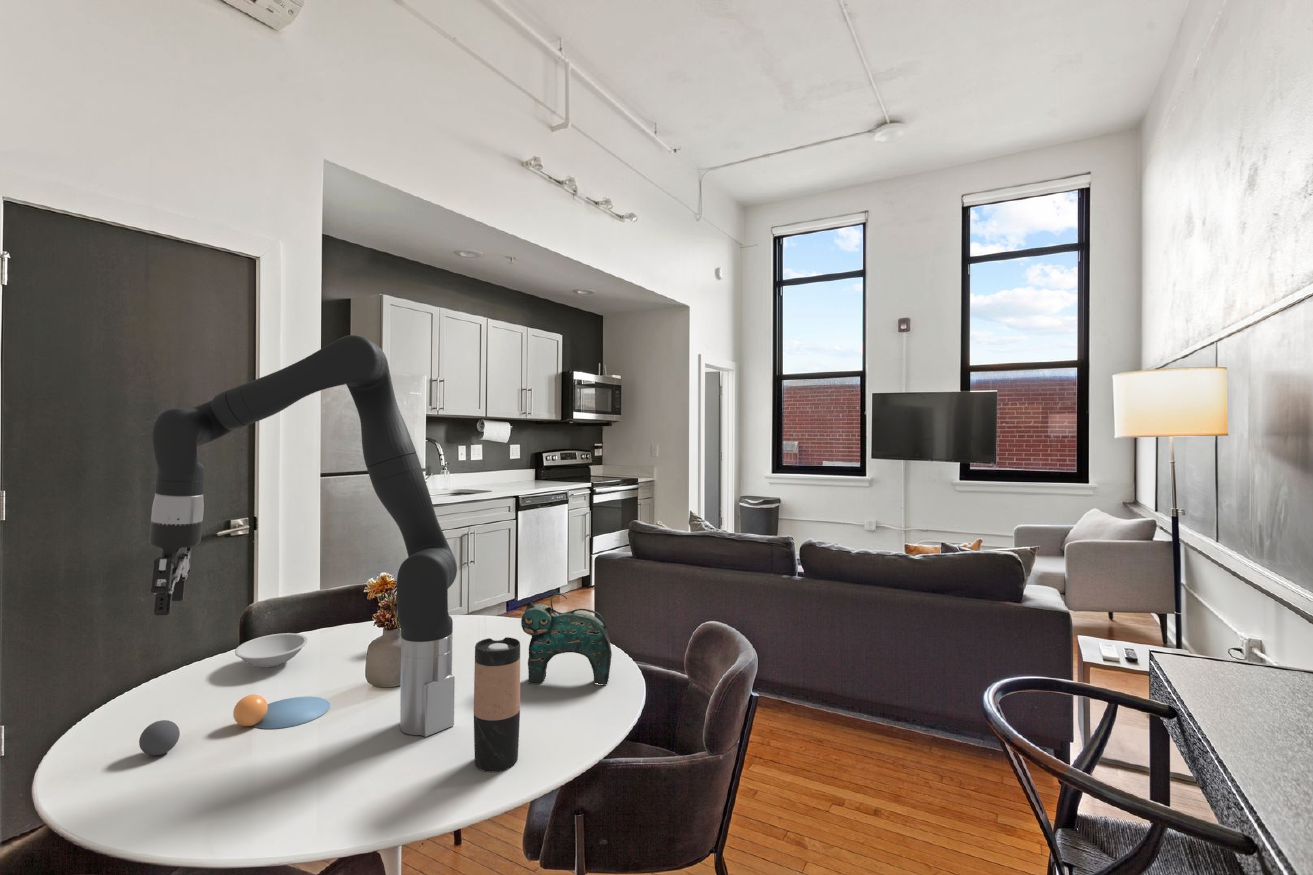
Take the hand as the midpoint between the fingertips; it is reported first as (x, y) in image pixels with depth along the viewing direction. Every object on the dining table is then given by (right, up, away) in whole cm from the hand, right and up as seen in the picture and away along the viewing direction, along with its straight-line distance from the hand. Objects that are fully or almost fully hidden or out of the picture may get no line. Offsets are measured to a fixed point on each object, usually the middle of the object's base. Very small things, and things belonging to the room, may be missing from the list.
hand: (169, 607), depth 117 cm
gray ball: (+3, -21, -6) cm, 22 cm away
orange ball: (+12, -21, +5) cm, 24 cm away
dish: (-2, -23, +34) cm, 41 cm away
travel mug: (+61, -24, -7) cm, 66 cm away
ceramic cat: (+68, -24, +28) cm, 77 cm away
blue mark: (+16, -23, +10) cm, 30 cm away
